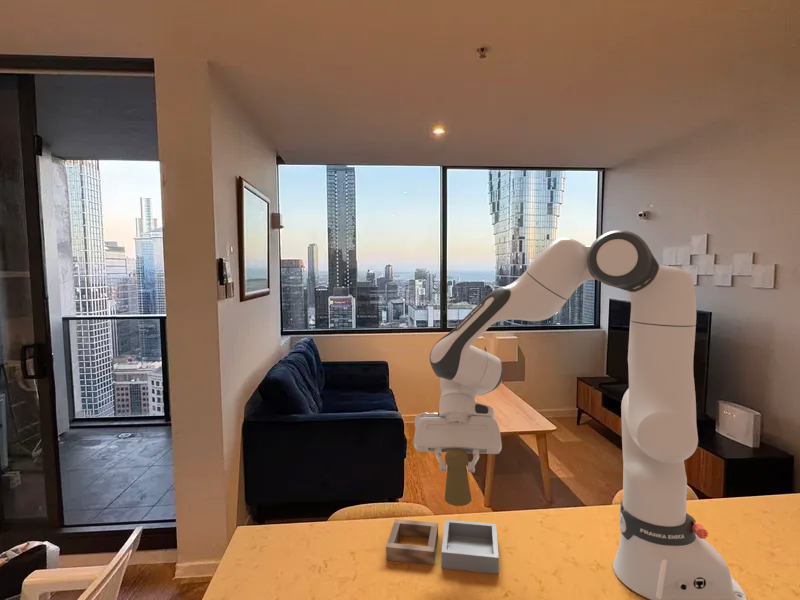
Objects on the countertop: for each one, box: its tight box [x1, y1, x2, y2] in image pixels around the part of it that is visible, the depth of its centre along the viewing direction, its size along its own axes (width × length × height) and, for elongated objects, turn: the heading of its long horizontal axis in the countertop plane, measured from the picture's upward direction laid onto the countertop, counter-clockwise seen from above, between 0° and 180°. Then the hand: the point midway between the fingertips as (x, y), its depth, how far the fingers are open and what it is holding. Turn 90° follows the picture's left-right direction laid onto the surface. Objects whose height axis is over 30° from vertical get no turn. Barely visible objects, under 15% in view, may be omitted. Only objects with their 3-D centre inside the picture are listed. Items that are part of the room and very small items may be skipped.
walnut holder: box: [385, 518, 439, 566], centre depth 97 cm, size 11×11×3 cm
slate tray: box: [440, 519, 500, 575], centre depth 95 cm, size 12×12×4 cm
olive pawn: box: [444, 449, 472, 507], centre depth 94 cm, size 6×6×11 cm
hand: (457, 470), depth 93 cm, fingers closed on olive pawn, 5 cm apart
